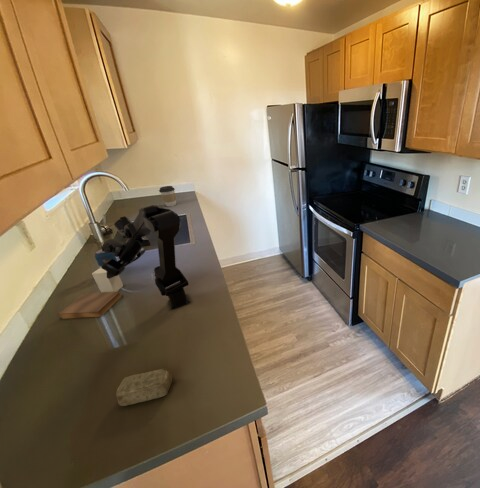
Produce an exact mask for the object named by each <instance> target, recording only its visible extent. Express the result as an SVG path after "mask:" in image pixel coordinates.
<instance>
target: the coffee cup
mask: <svg viewBox="0 0 480 488" xmlns="http://www.w3.org/2000/svg"><path fill="white" fill-rule="evenodd" d="M175 189H176V188H175V187H173V185H166V186H161V187H160V188H159V189H158V191H159V193H160V194H161V197H162V199H163V201H164V204H165V205H166V207H174V206H176V205H177V200H176V192H175Z"/></svg>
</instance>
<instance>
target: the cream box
mask: <svg viewBox="0 0 480 488" xmlns="http://www.w3.org/2000/svg"><path fill="white" fill-rule="evenodd" d="M91 275H92V277H93V279H94V281H95V284H96V285H97V287H98V290H99V292H100V293H102V292H119V291H120V290H121V289H122V288H123V287H124V284H123V282H122V279H121V277H120V274H119V275H118V276H114V277H112V278H110V279H108V278H107V271H105V270H104V269H102V268H101V267H99V268H98V269H96V270H95V271H93V272H92V273H91Z"/></svg>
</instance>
